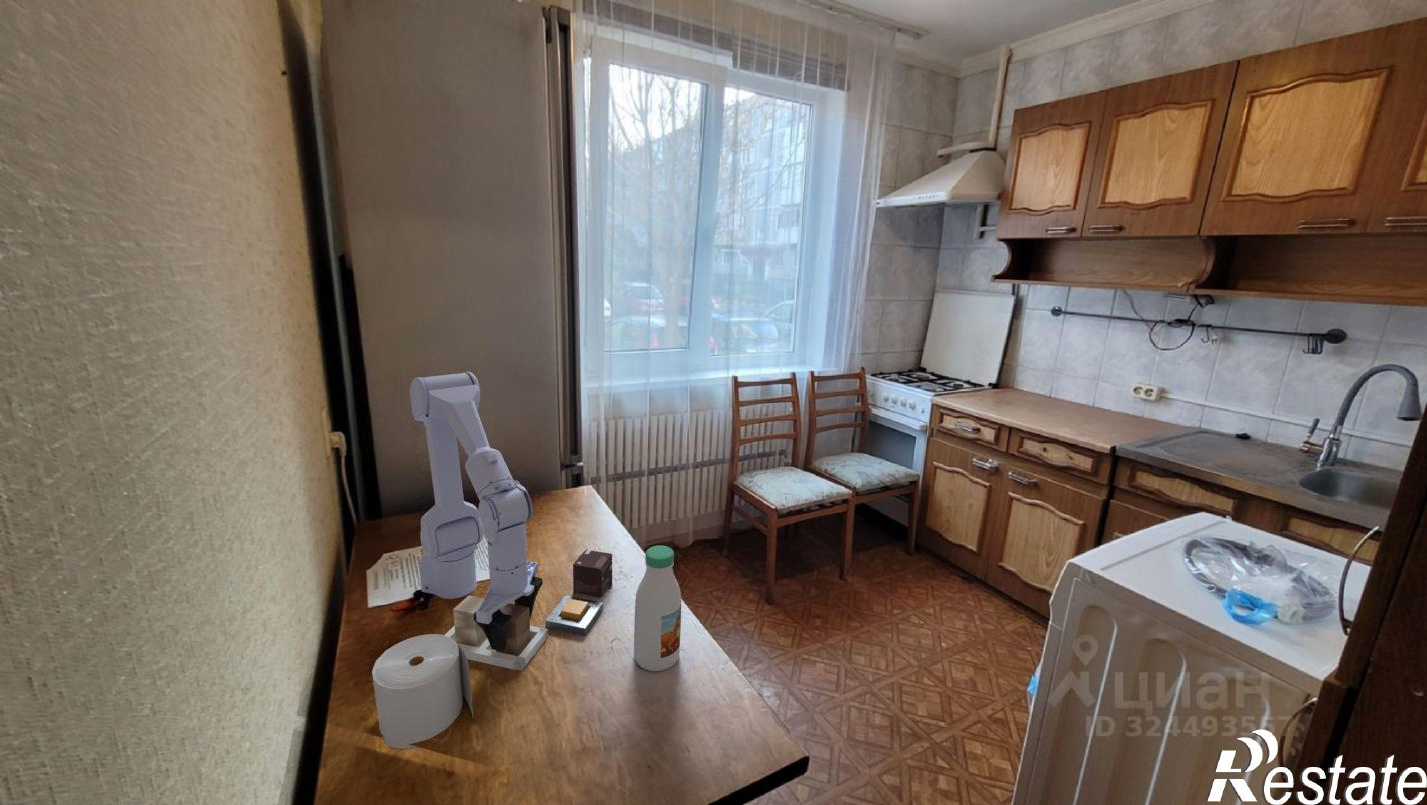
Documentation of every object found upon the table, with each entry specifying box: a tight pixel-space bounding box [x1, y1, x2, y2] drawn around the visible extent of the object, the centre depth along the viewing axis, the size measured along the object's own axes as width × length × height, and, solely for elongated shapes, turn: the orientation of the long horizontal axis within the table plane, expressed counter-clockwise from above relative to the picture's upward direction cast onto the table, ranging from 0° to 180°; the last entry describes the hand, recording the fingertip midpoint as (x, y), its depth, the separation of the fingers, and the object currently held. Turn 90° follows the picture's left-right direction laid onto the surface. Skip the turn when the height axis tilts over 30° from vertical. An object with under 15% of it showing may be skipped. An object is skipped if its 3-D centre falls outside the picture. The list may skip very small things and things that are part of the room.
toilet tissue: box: [371, 633, 474, 750], centre depth 77 cm, size 11×12×10 cm
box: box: [572, 549, 613, 598], centre depth 108 cm, size 6×6×7 cm
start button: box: [561, 599, 588, 621], centre depth 99 cm, size 4×4×3 cm
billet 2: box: [495, 603, 531, 656], centre depth 90 cm, size 4×4×7 cm
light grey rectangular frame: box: [444, 624, 549, 672], centre depth 92 cm, size 16×8×2 cm, turn 78°
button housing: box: [544, 595, 604, 637], centre depth 99 cm, size 8×8×2 cm
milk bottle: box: [633, 545, 682, 672], centre depth 90 cm, size 8×8×20 cm
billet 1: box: [452, 594, 487, 648], centre depth 92 cm, size 4×4×7 cm
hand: (511, 633), depth 91 cm, fingers open, 7 cm apart
